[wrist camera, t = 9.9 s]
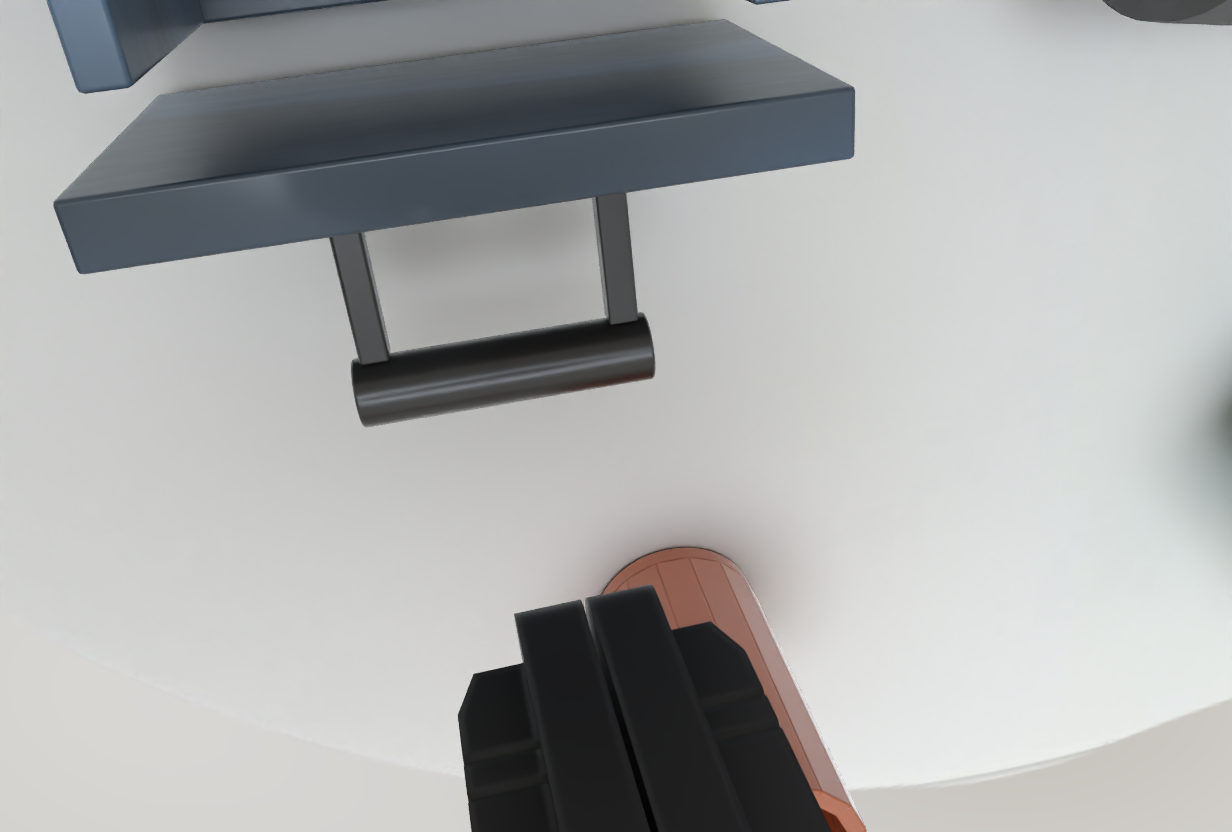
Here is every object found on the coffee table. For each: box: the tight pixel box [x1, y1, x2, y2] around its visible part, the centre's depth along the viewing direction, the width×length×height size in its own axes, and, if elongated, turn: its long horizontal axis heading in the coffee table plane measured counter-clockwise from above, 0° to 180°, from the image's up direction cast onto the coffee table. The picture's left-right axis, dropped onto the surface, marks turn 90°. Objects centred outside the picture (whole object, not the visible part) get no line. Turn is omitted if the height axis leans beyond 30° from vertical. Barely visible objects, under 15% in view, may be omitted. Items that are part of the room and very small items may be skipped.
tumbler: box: [602, 548, 866, 832], centre depth 29 cm, size 5×5×10 cm
